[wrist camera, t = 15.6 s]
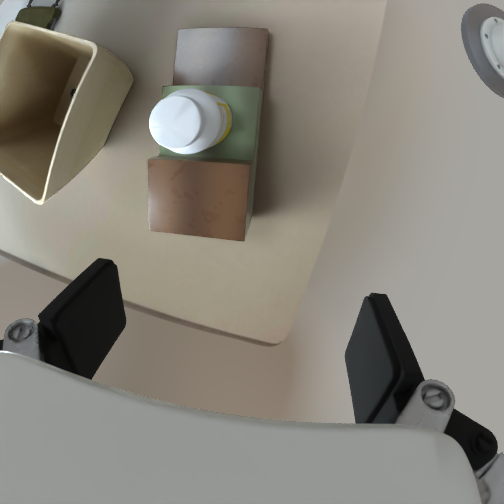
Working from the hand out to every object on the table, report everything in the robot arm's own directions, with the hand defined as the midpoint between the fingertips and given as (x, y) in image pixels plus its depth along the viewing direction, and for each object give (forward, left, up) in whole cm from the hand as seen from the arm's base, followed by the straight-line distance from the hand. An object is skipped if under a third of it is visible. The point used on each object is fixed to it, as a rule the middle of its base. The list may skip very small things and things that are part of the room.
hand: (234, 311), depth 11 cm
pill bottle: (+8, -6, -27) cm, 29 cm away
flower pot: (+29, -10, -32) cm, 45 cm away
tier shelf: (+8, -6, -32) cm, 34 cm away
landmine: (+45, -31, -32) cm, 64 cm away
